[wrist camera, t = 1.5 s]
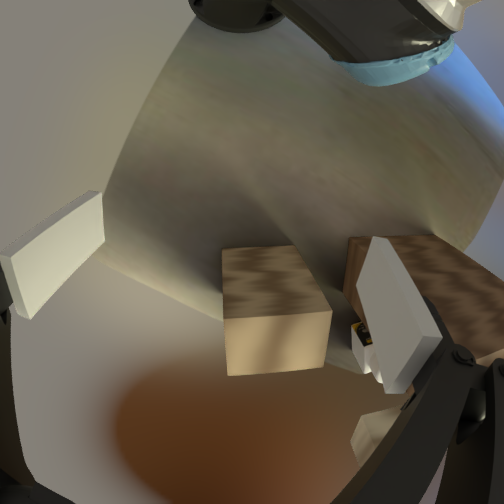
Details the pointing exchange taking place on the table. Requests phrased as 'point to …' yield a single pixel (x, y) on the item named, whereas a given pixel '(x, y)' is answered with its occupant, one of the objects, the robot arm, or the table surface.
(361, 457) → the wooden block
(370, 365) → the medicine bottle
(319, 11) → the robot arm
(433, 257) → the stand
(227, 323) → the base pedestal
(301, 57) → the table surface
